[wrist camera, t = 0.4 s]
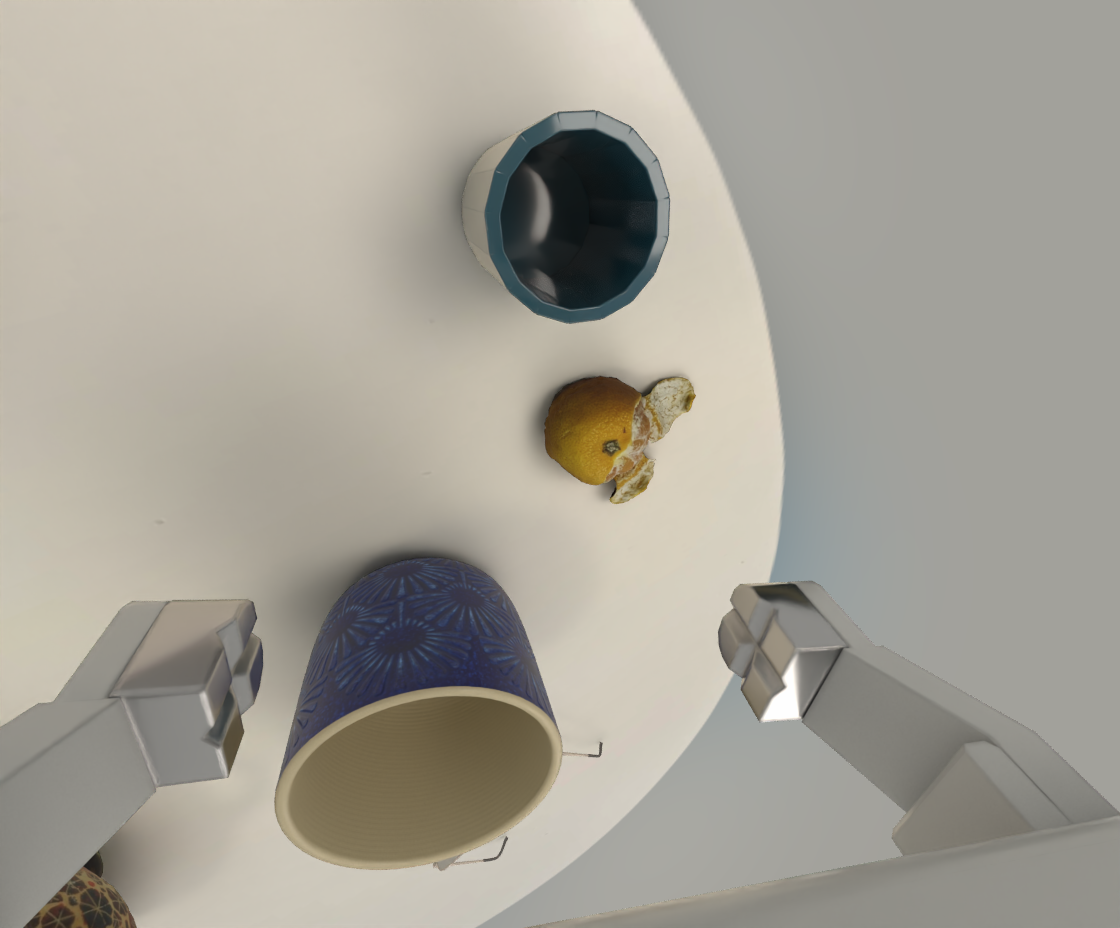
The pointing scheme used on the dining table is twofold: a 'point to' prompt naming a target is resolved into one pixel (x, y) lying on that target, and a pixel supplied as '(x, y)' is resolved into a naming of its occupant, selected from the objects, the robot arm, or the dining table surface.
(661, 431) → the fruit
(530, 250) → the cup
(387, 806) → the planter
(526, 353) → the dining table surface
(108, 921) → the ceramic bowl
